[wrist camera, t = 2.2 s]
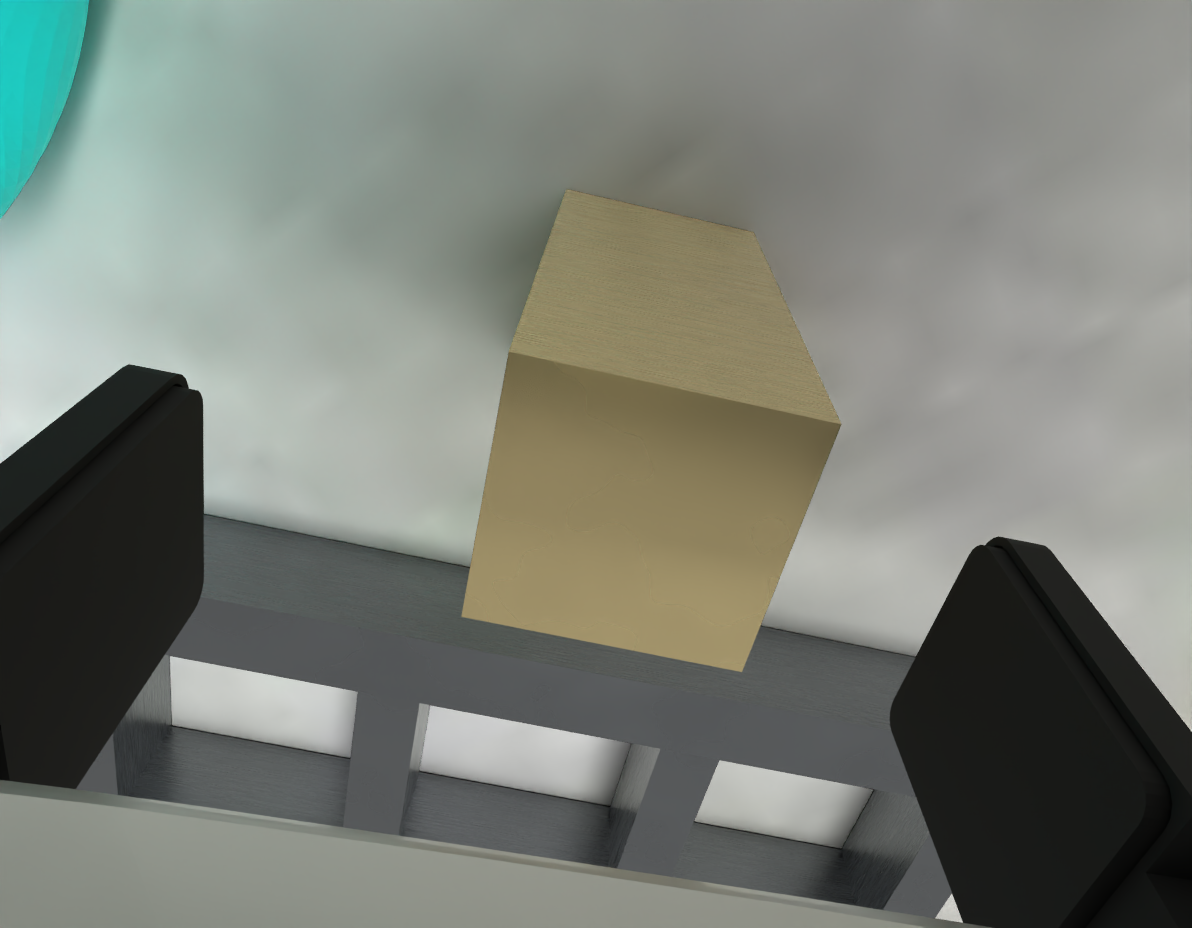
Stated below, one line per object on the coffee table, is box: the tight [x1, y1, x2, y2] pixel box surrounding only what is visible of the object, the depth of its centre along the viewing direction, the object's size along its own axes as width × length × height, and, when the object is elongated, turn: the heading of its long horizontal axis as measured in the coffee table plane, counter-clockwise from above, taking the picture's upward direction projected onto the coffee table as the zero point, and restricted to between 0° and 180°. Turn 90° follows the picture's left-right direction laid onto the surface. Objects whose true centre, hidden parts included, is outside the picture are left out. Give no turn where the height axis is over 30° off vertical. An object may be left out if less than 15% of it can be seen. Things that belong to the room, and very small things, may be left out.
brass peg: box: [461, 189, 841, 672], centre depth 15 cm, size 4×4×9 cm
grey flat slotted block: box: [76, 515, 952, 918], centre depth 24 cm, size 24×10×3 cm, turn 78°
